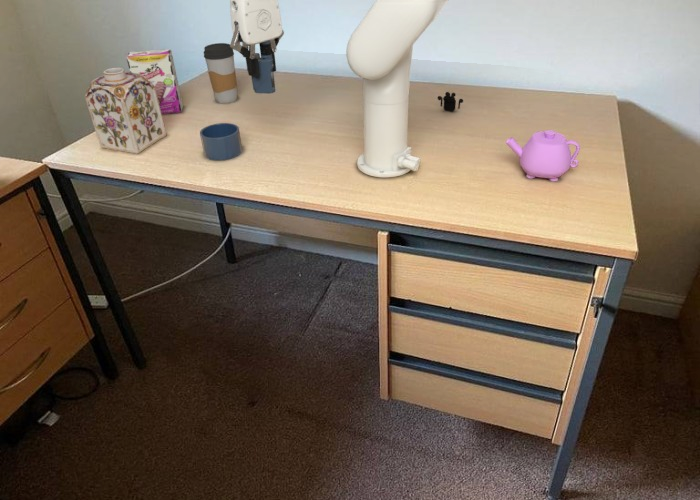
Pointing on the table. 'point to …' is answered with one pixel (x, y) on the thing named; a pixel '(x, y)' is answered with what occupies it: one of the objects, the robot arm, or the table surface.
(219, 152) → the pen cup
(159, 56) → the candy bar box
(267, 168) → the table surface
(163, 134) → the decorative jar
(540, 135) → the teapot
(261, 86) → the vaping device
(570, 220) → the table surface
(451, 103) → the wireless earbuds
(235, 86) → the coffee cup
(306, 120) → the table surface
